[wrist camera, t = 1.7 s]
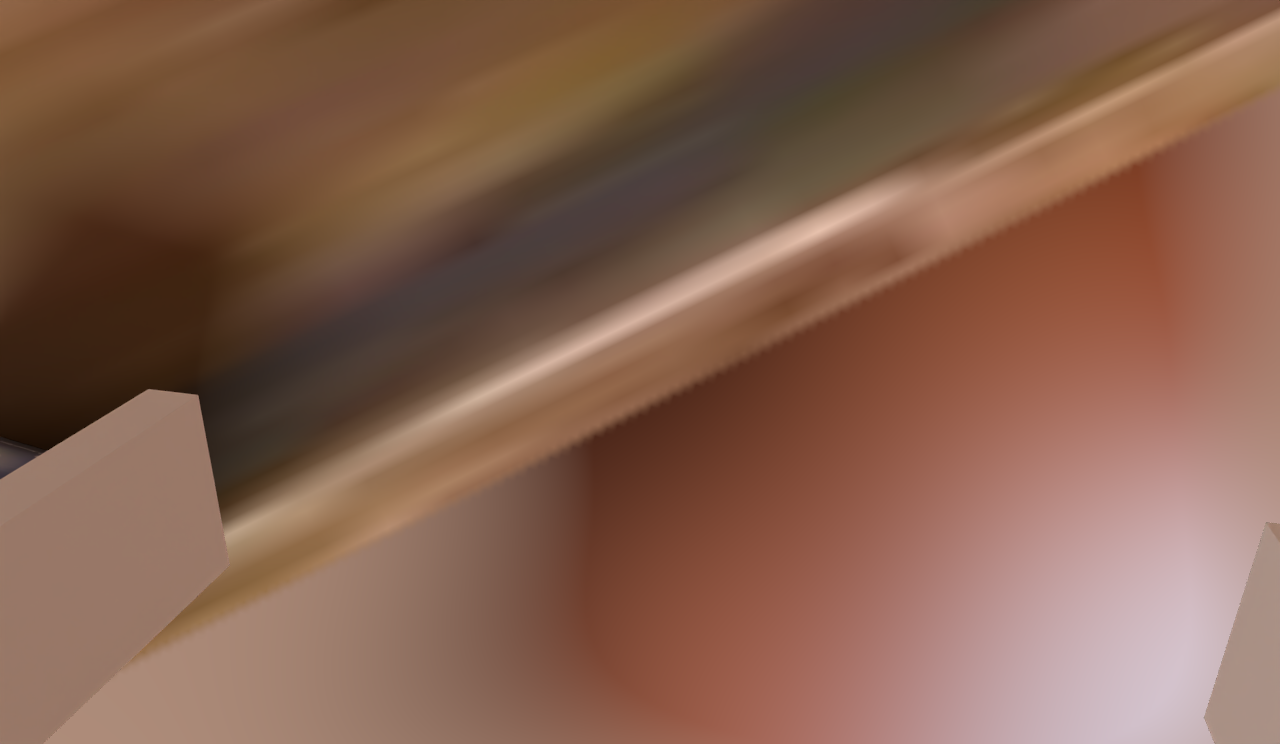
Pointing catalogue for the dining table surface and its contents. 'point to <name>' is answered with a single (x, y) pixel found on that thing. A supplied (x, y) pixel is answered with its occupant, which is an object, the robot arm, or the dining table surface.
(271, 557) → the dining table surface
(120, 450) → the robot arm
